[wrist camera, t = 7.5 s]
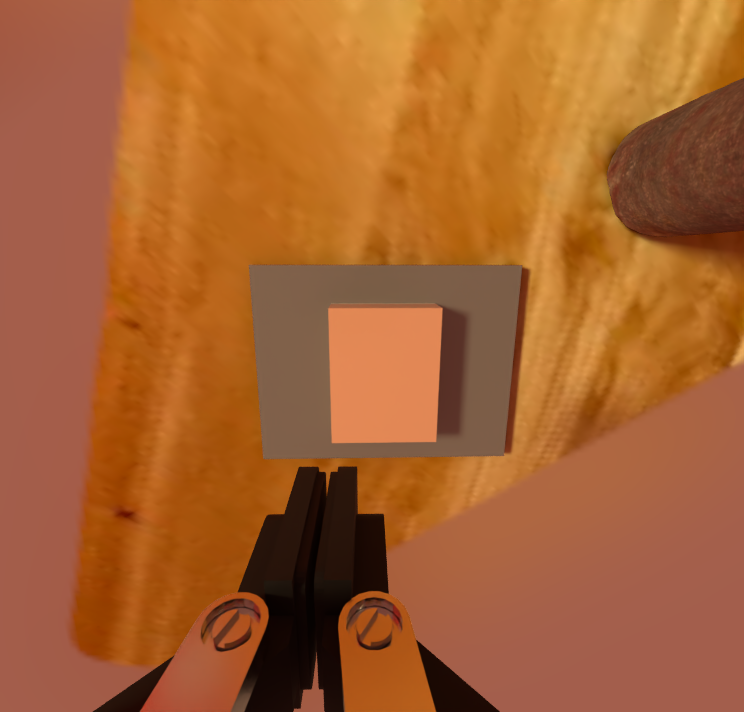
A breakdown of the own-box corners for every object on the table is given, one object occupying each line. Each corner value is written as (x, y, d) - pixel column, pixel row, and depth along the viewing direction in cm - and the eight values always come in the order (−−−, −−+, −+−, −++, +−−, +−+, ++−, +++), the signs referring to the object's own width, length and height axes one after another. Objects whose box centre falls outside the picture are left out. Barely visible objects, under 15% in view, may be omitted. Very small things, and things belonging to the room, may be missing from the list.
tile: (331, 303, 26) (434, 303, 26) (334, 427, 28) (429, 426, 29) (328, 308, 24) (442, 308, 24) (331, 443, 26) (436, 442, 26)
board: (516, 265, 27) (522, 265, 26) (499, 449, 30) (503, 455, 29) (253, 264, 26) (248, 265, 25) (266, 452, 30) (263, 458, 29)
